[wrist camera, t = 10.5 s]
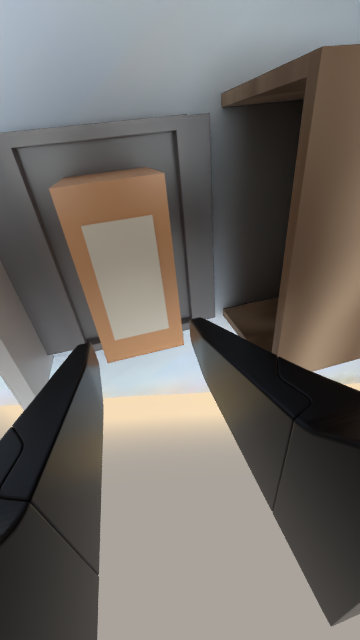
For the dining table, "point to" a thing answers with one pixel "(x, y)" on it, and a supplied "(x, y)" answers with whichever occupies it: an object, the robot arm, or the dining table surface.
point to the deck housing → (314, 214)
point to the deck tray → (51, 246)
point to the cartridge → (123, 257)
